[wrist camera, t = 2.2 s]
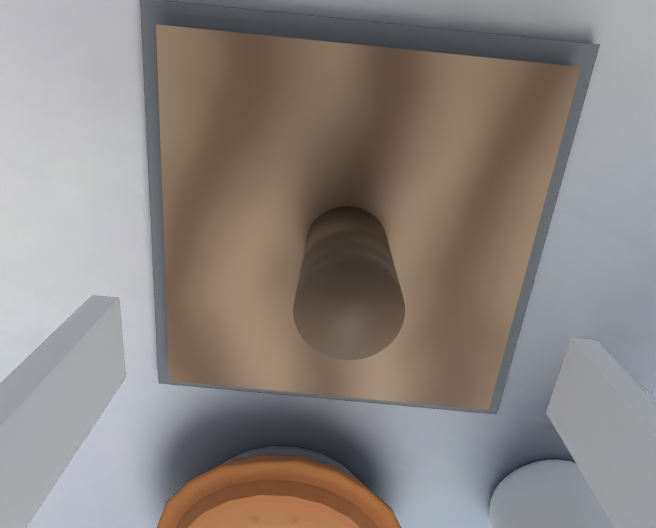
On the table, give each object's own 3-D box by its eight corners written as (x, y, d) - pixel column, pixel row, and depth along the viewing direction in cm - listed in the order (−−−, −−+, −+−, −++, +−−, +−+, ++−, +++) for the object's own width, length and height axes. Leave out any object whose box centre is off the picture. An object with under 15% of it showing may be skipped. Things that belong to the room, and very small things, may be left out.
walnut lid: (570, 66, 21) (692, 66, 14) (483, 398, 28) (534, 517, 21) (164, 26, 21) (68, 3, 14) (175, 370, 28) (115, 479, 21)
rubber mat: (593, 45, 22) (599, 44, 21) (493, 407, 29) (496, 414, 29) (145, -1, 21) (139, -2, 21) (162, 377, 29) (158, 383, 28)
